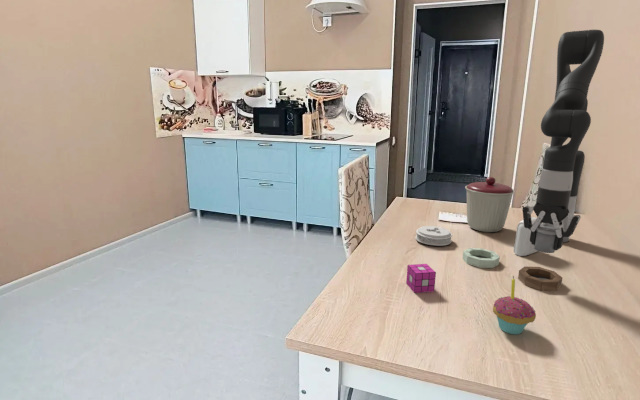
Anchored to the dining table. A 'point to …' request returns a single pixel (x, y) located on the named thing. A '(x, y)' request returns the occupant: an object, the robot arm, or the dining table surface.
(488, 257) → the sage ring
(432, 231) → the lid
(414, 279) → the puzzle toy
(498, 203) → the canister
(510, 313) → the cupcake
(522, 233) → the photo printer
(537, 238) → the cap
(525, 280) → the walnut ring
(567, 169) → the robot arm
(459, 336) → the dining table surface
